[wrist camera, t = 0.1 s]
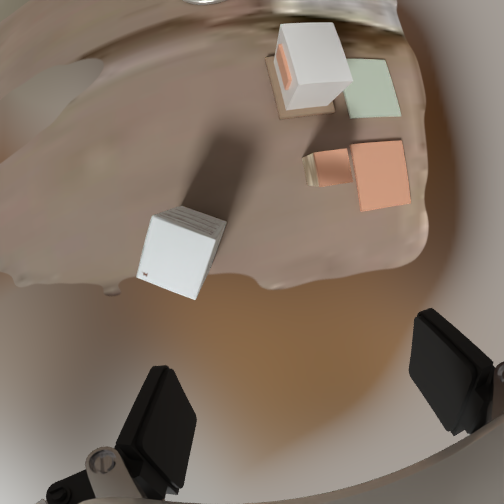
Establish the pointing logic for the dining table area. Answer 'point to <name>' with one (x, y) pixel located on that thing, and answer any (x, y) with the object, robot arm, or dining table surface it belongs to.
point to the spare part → (327, 168)
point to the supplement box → (180, 250)
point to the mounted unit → (307, 69)
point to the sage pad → (370, 90)
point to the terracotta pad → (380, 174)
